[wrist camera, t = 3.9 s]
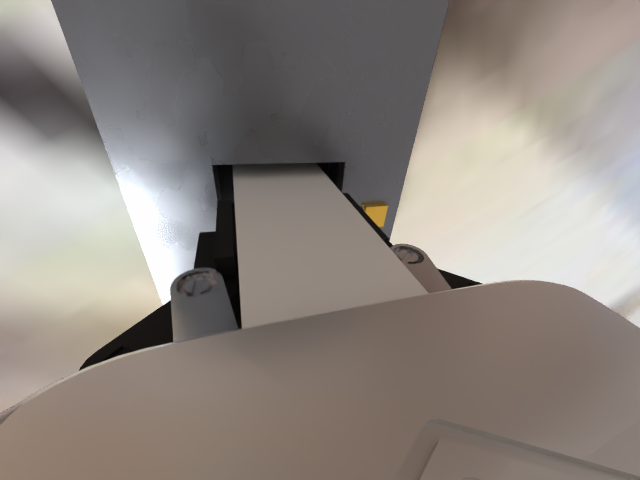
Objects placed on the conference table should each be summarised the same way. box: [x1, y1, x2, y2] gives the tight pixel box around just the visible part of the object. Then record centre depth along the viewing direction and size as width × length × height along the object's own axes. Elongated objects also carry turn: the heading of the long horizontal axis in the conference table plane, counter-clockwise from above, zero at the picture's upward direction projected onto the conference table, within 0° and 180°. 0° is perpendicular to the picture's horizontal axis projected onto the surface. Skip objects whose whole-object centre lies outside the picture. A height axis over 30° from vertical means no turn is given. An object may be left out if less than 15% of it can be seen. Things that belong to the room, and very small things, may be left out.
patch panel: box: [51, 0, 449, 305], centre depth 10 cm, size 20×12×3 cm, turn 176°
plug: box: [232, 163, 429, 328], centre depth 10 cm, size 5×4×11 cm
